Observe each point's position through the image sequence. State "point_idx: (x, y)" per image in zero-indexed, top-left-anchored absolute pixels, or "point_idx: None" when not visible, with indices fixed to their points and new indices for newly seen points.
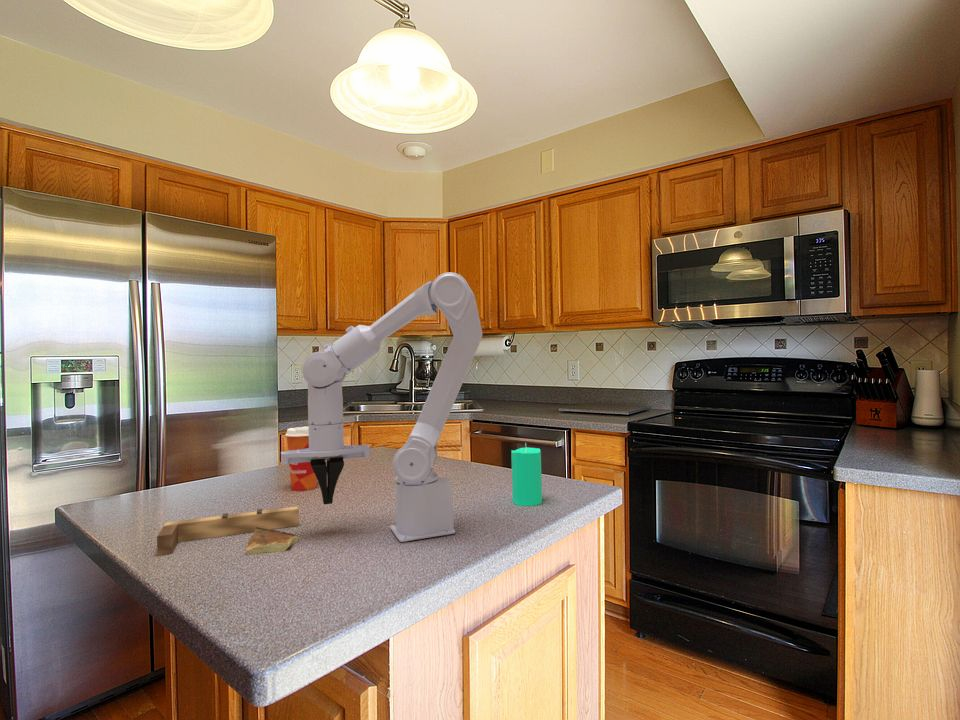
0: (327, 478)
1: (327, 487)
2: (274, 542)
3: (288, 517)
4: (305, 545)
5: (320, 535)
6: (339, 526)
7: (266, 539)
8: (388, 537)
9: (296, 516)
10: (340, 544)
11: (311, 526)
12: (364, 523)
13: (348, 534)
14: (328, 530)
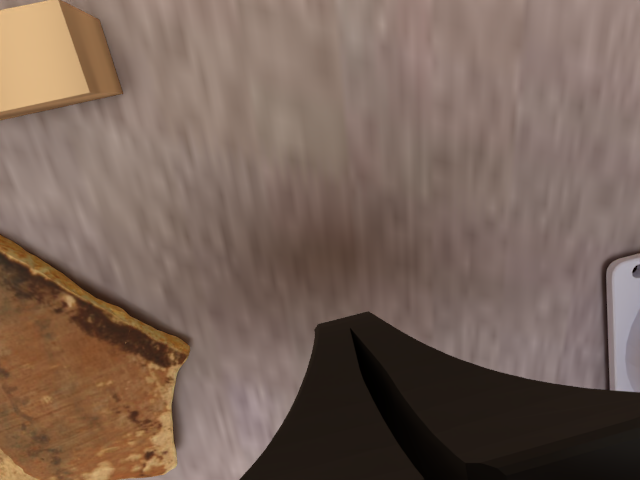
0: (395, 392)
1: (373, 371)
2: (100, 468)
3: (36, 107)
4: (237, 403)
5: (283, 287)
6: (366, 164)
7: (39, 422)
8: (577, 365)
9: (90, 96)
10: None
11: (205, 124)
12: (496, 143)
13: (416, 298)
14: (314, 219)
